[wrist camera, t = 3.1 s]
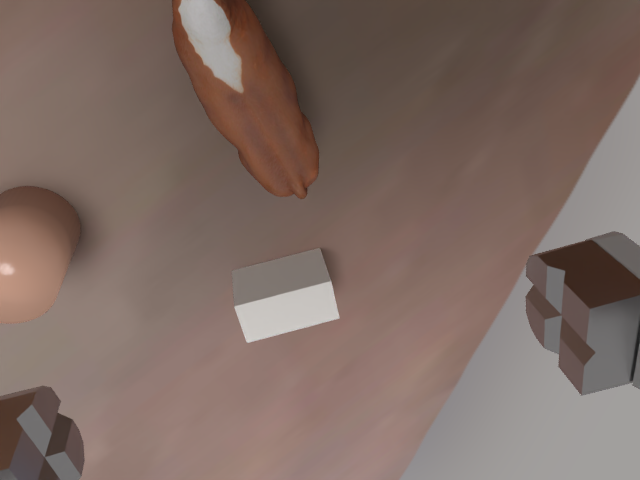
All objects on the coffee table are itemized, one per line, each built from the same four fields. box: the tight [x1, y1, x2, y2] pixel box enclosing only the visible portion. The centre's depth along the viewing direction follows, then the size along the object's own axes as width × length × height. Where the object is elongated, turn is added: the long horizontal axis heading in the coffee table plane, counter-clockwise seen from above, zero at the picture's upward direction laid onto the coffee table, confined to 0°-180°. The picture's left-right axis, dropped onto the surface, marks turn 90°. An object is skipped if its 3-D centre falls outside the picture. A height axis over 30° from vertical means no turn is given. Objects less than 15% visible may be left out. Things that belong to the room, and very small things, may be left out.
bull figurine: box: [172, 0, 319, 199], centre depth 26 cm, size 4×13×8 cm, turn 19°
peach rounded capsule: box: [0, 186, 81, 324], centre depth 30 cm, size 5×5×6 cm
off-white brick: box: [232, 248, 339, 343], centre depth 36 cm, size 6×3×4 cm, turn 101°
